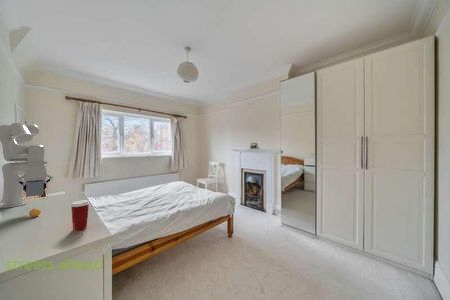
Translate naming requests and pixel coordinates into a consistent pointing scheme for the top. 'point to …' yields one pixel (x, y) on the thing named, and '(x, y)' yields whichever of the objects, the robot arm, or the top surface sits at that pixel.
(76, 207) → the paper cup
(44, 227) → the top surface
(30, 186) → the pale blue-grey cube
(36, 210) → the ball
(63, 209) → the top surface
